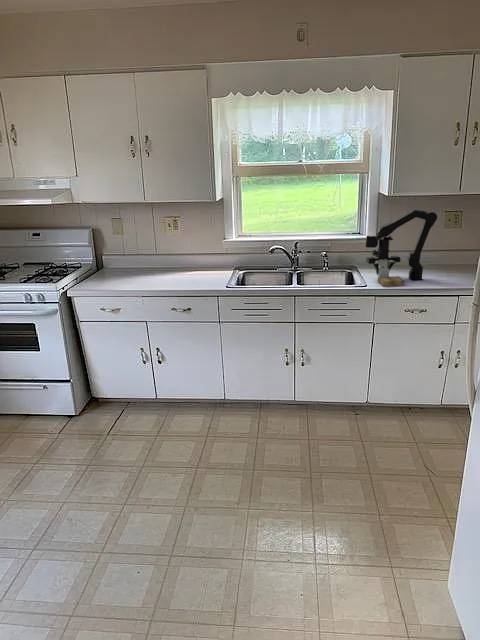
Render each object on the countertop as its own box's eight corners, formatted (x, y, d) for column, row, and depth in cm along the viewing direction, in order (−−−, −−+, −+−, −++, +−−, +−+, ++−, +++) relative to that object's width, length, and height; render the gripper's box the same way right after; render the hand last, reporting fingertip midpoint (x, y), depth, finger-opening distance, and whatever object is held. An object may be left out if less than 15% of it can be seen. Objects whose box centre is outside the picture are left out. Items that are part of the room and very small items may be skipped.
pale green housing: (385, 273, 284) (385, 264, 282) (388, 277, 277) (389, 267, 275) (375, 274, 284) (376, 264, 282) (379, 277, 277) (379, 268, 275)
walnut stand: (398, 281, 274) (398, 276, 273) (404, 285, 266) (404, 280, 265) (377, 282, 274) (378, 277, 273) (383, 286, 265) (383, 281, 264)
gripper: (394, 244, 283) (393, 269, 288) (363, 245, 282) (362, 271, 287) (401, 247, 272) (399, 274, 278) (369, 249, 272) (368, 276, 277)
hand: (382, 273), depth 280 cm, fingers closed on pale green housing, 6 cm apart
